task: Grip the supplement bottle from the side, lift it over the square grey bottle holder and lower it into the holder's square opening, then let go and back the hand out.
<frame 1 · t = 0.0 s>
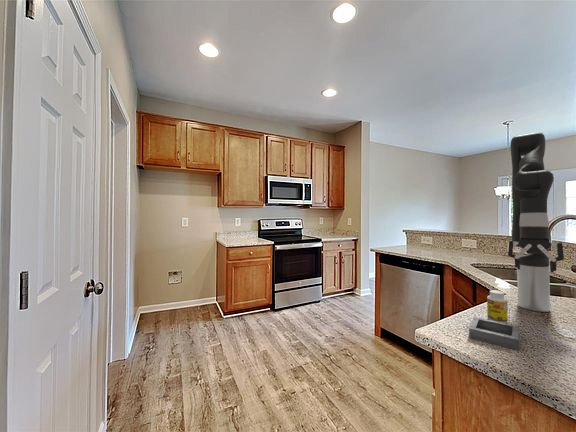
hand: (534, 270, 90), 17 cm above the countertop, tool pointing down, fingers open, 8 cm apart
supplement bottle: (497, 320, 89), on the countertop
square grey bottle holder: (494, 336, 78), on the countertop
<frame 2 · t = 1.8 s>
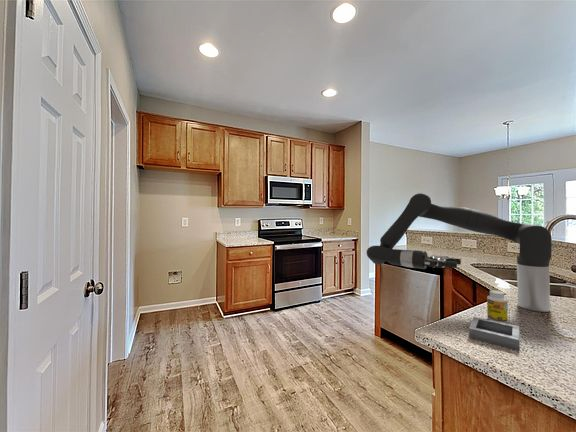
hand: (458, 263, 97), 19 cm above the countertop, tool horizontal, fingers open, 8 cm apart
nothing on the countertop moved.
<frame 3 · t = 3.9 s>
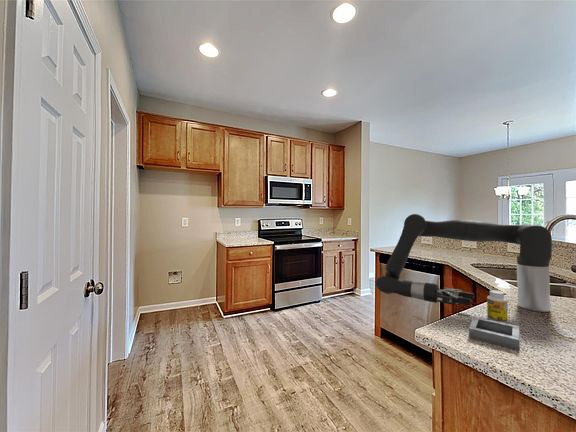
hand: (472, 299, 94), 6 cm above the countertop, tool horizontal, fingers open, 8 cm apart
nothing on the countertop moved.
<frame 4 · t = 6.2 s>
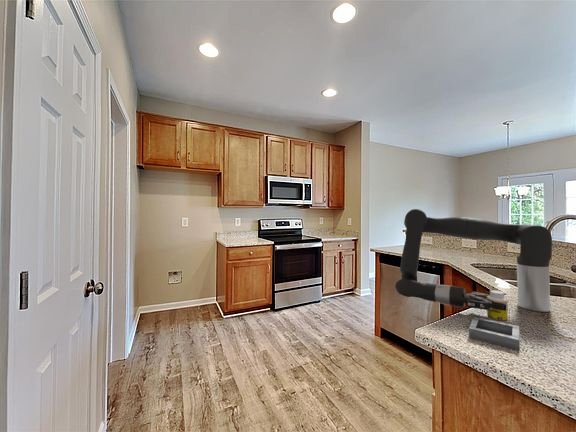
hand: (506, 305, 88), 6 cm above the countertop, tool horizontal, fingers closed on supplement bottle, 5 cm apart
supplement bottle: (497, 320, 89), on the countertop, touching gripper
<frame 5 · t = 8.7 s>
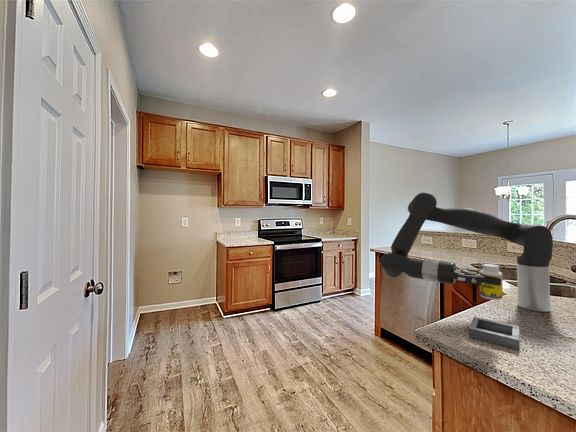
hand: (501, 279, 77), 18 cm above the countertop, tool horizontal, fingers closed on supplement bottle, 5 cm apart
supplement bottle: (490, 298, 78), point 12 cm above the countertop, touching gripper
when the fingers open (8 cm above the countertop, at t = 11.2 s): supplement bottle drops 2 cm, resting in square grey bottle holder.
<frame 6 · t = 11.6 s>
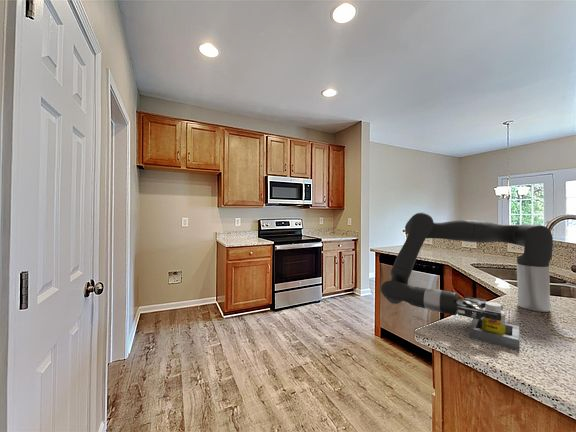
hand: (501, 312, 76), 8 cm above the countertop, tool horizontal, fingers open, 8 cm apart
supplement bottle: (493, 337, 78), resting in square grey bottle holder
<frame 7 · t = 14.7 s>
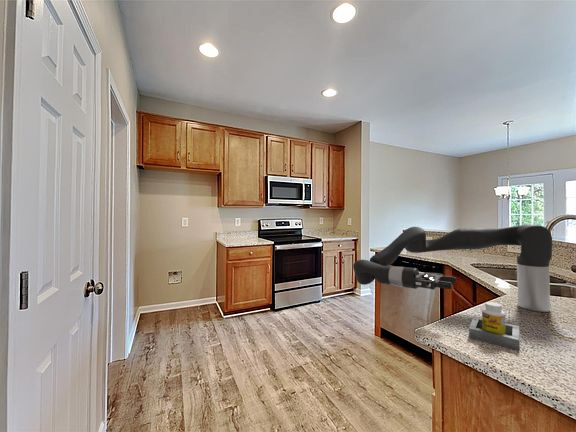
hand: (454, 283, 85), 15 cm above the countertop, tool horizontal, fingers open, 8 cm apart
nothing on the countertop moved.
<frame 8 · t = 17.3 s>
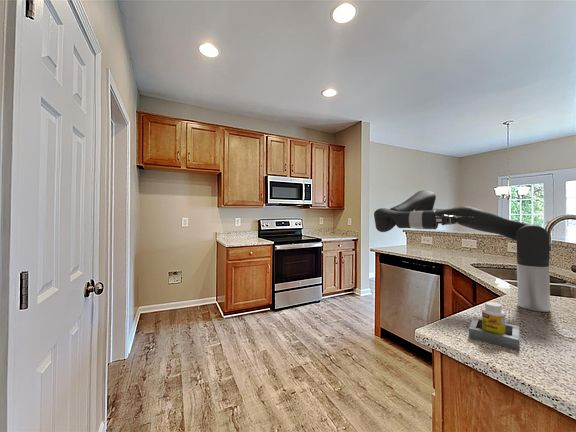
hand: (472, 219, 91), 36 cm above the countertop, tool horizontal, fingers open, 8 cm apart
nothing on the countertop moved.
at the end: supplement bottle 0.1 cm off-centre on the square grey bottle holder, point 0.0 cm above the square grey bottle holder's base; supplement bottle tilted 0°; the gripper is holding nothing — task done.
